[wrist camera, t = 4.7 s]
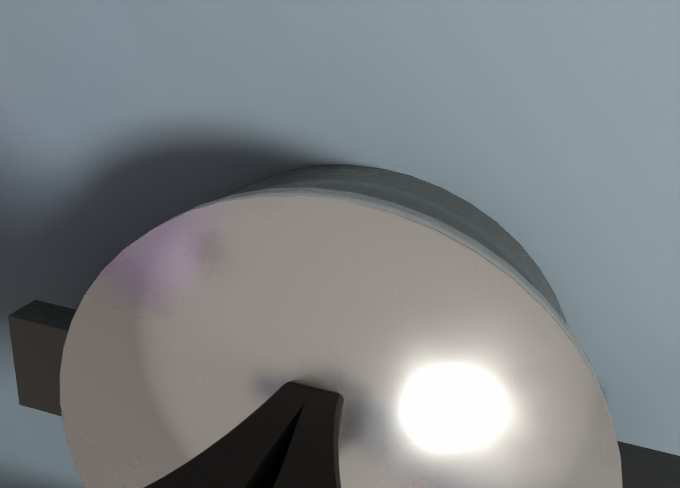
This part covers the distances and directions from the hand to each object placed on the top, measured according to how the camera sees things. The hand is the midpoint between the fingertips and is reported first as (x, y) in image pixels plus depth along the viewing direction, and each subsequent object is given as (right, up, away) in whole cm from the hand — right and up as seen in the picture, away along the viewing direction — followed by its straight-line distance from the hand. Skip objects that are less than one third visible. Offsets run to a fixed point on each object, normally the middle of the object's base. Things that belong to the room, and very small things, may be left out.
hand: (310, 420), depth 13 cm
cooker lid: (0, -1, +1) cm, 2 cm away
